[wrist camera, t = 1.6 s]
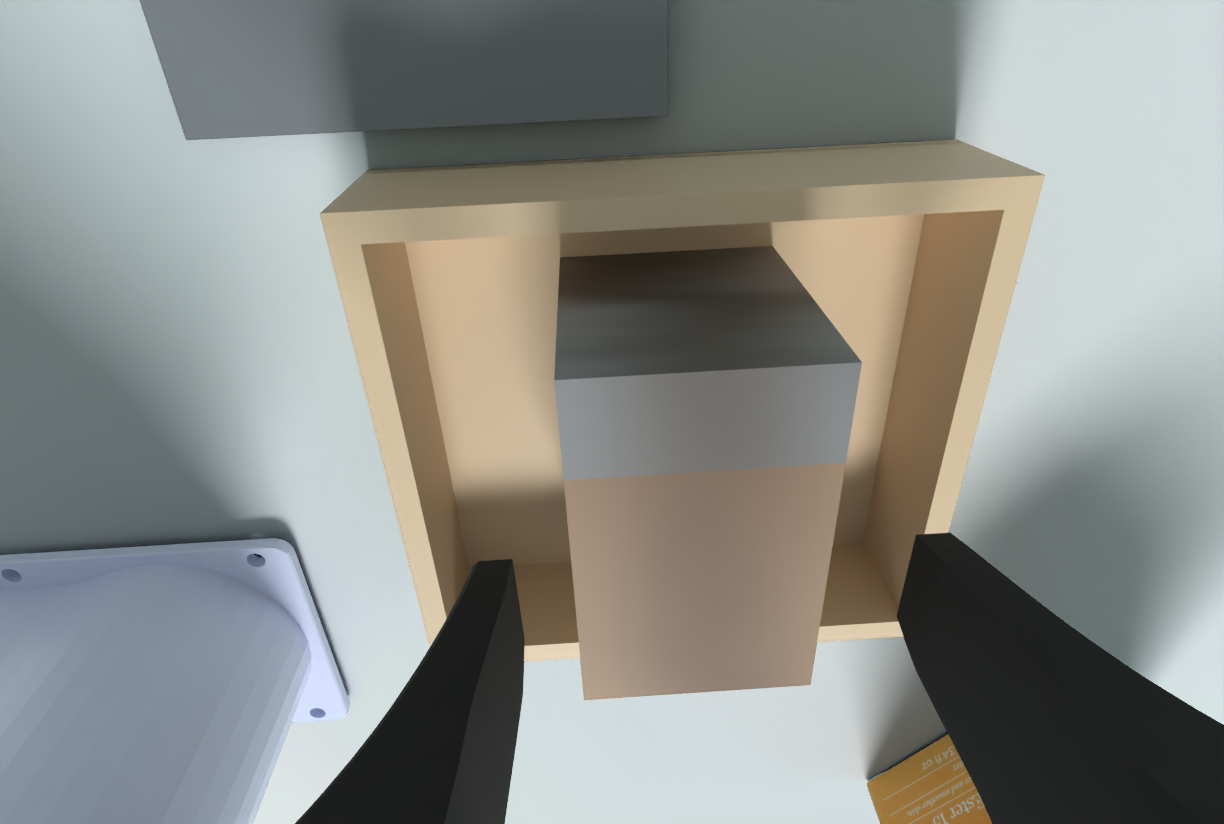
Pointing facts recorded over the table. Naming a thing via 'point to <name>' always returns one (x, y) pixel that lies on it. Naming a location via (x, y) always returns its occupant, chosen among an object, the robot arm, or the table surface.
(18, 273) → the table surface
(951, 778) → the small box
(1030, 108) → the table surface
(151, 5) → the panel
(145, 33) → the table surface
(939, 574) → the robot arm
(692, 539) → the box
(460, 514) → the shallow wooden tray
